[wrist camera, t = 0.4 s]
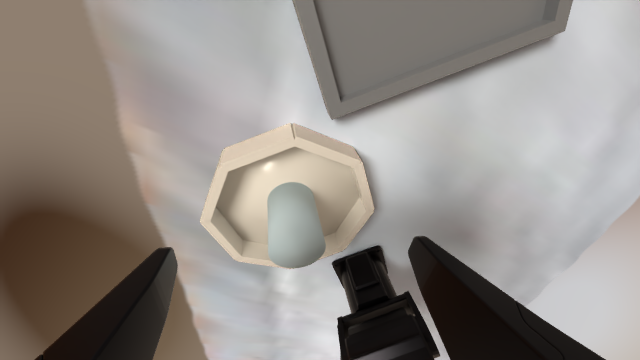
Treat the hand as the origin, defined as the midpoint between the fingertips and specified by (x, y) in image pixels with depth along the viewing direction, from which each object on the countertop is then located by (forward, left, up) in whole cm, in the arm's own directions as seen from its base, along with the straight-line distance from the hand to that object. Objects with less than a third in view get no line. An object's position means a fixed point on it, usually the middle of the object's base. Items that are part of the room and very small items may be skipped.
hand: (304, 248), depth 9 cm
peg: (-8, +3, -13) cm, 15 cm away
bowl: (-8, +3, -13) cm, 15 cm away
